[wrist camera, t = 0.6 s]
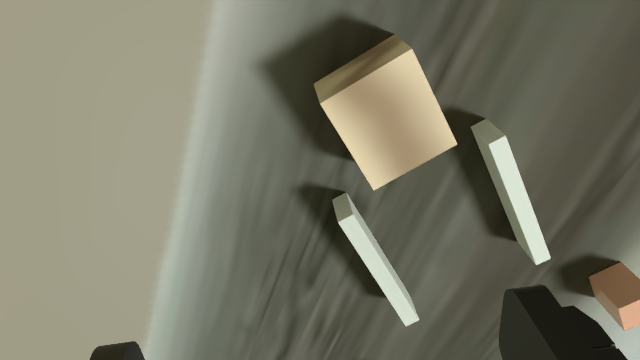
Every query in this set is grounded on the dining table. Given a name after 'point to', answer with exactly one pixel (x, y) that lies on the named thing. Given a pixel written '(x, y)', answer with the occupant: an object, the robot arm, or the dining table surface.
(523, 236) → the white blocks
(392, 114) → the maple block
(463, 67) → the dining table surface
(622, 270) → the gate posts
